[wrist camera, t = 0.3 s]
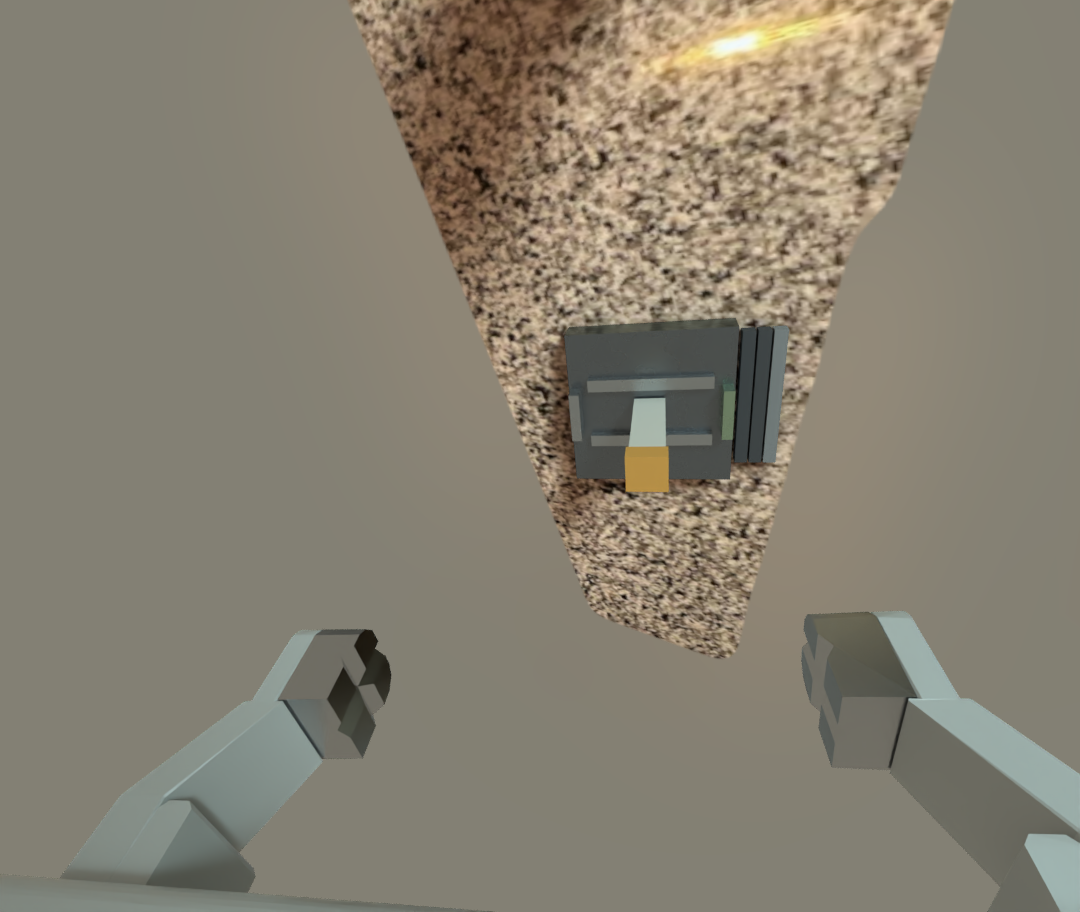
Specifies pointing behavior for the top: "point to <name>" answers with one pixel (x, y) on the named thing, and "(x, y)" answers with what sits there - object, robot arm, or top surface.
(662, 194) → the top surface
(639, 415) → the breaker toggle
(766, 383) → the dark grey flat bar
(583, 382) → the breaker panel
